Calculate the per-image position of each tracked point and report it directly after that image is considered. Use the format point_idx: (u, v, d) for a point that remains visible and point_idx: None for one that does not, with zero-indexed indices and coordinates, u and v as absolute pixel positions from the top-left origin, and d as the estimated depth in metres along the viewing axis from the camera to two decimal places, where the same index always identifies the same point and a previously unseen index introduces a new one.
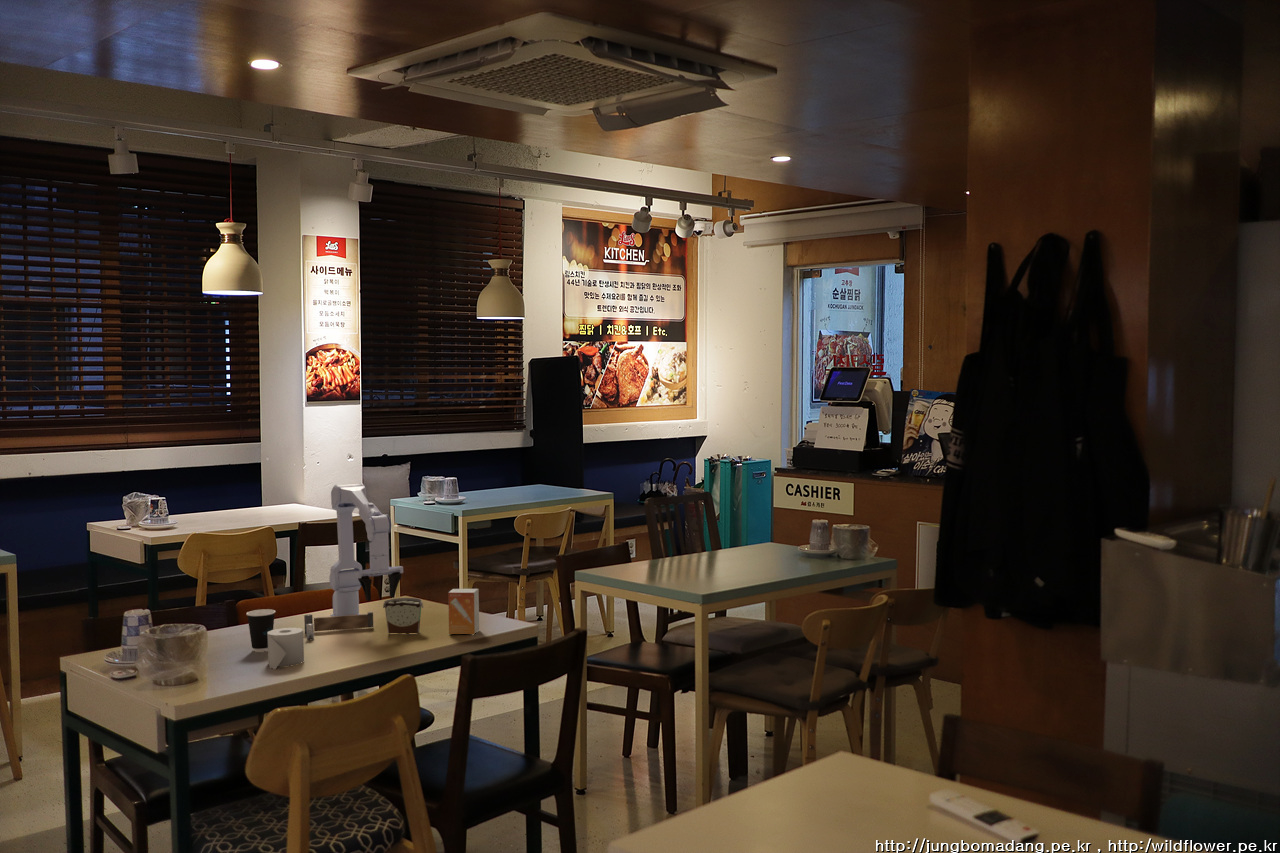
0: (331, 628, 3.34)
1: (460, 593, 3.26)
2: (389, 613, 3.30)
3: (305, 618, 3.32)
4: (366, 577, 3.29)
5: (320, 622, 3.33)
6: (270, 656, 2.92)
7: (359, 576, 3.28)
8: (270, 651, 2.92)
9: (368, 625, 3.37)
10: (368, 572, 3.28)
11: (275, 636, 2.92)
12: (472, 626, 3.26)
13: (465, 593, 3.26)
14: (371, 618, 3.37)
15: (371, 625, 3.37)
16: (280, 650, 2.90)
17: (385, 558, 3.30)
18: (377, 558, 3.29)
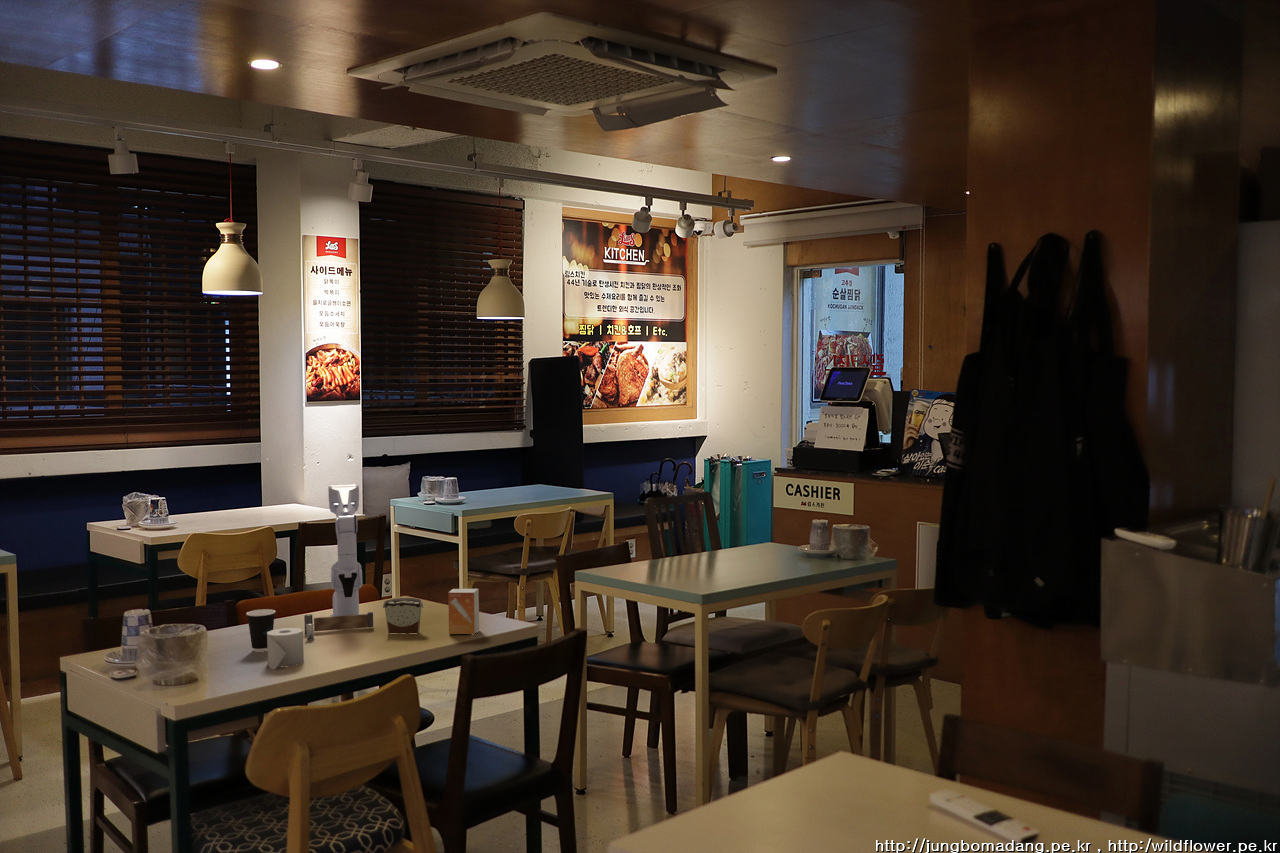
0: (331, 628, 3.34)
1: (460, 593, 3.26)
2: (389, 613, 3.30)
3: (305, 618, 3.32)
4: None
5: (320, 622, 3.33)
6: (270, 656, 2.92)
7: None
8: (270, 651, 2.92)
9: (368, 625, 3.37)
10: None
11: (275, 636, 2.92)
12: (472, 626, 3.26)
13: (465, 593, 3.26)
14: (371, 618, 3.37)
15: (371, 625, 3.37)
16: (280, 650, 2.90)
17: (338, 557, 3.39)
18: None
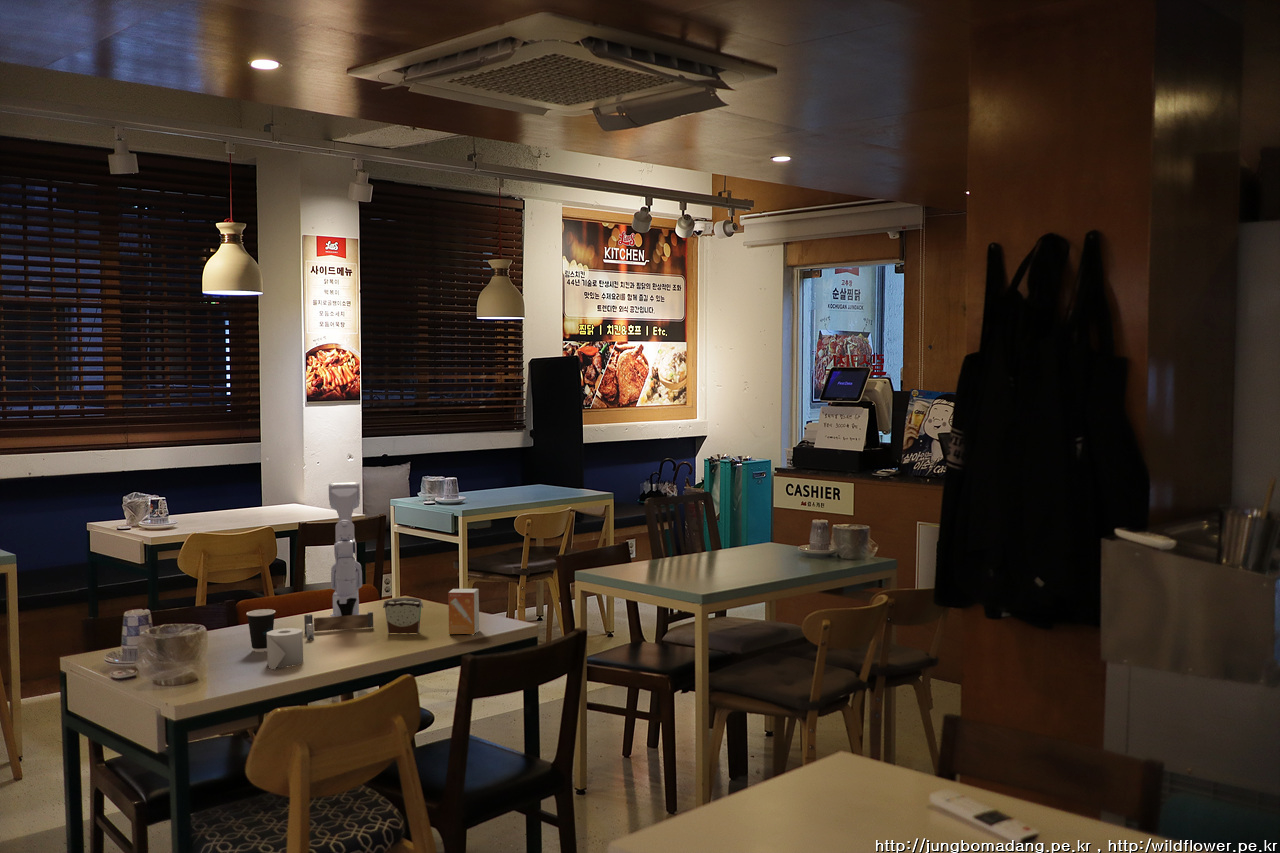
0: (331, 628, 3.34)
1: (460, 593, 3.26)
2: (389, 613, 3.30)
3: (305, 618, 3.32)
4: None
5: (320, 622, 3.33)
6: (269, 657, 2.91)
7: None
8: (269, 652, 2.91)
9: (368, 625, 3.37)
10: None
11: (274, 636, 2.92)
12: (472, 626, 3.26)
13: (465, 593, 3.26)
14: (371, 618, 3.37)
15: (371, 625, 3.37)
16: (279, 651, 2.90)
17: (336, 582, 3.37)
18: None
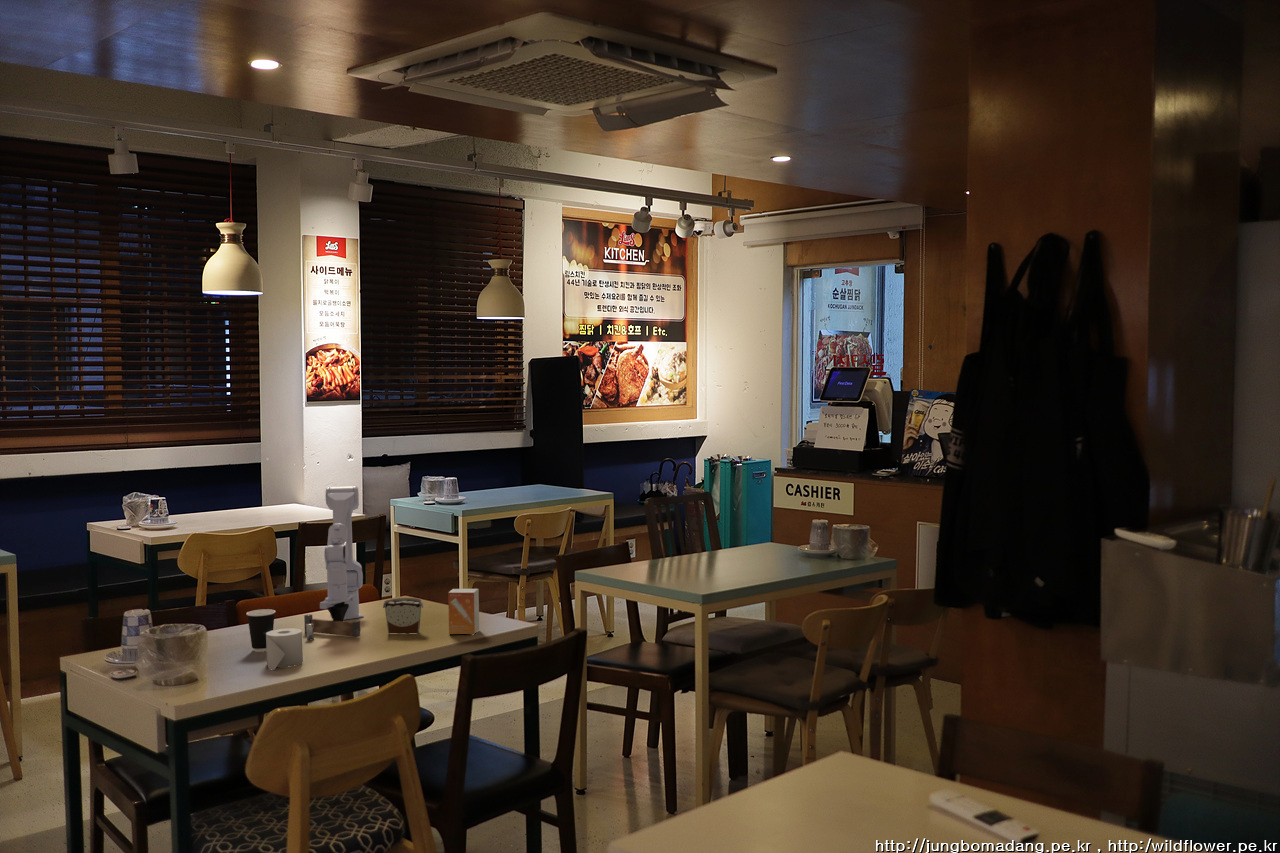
0: (324, 632, 3.29)
1: (460, 593, 3.26)
2: (389, 613, 3.30)
3: (305, 618, 3.32)
4: None
5: (315, 624, 3.31)
6: (269, 657, 2.91)
7: None
8: (269, 652, 2.91)
9: (352, 634, 3.25)
10: None
11: (274, 637, 2.91)
12: (472, 626, 3.26)
13: (465, 593, 3.26)
14: (355, 627, 3.24)
15: (355, 635, 3.24)
16: (279, 651, 2.89)
17: None
18: None
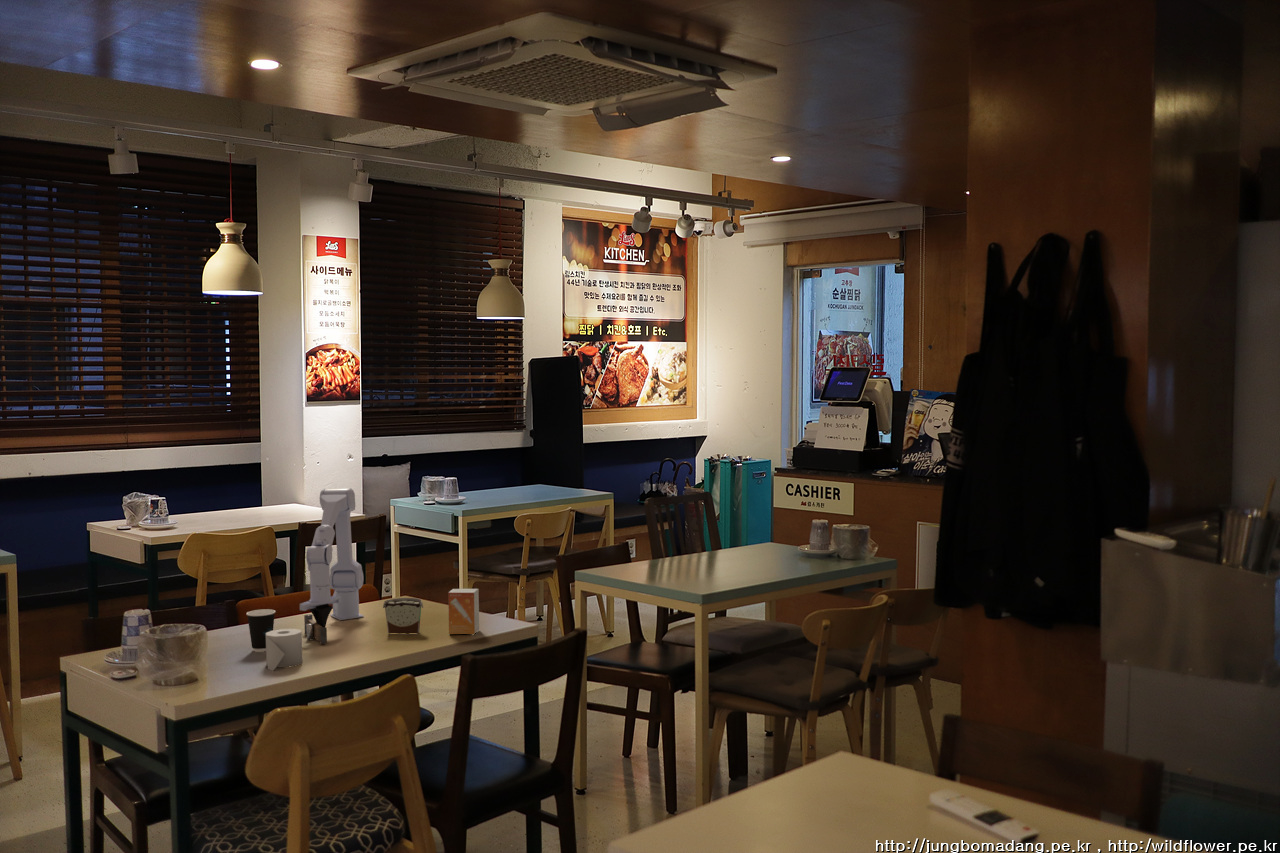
0: None
1: (460, 593, 3.26)
2: (389, 613, 3.30)
3: (305, 618, 3.32)
4: None
5: None
6: (268, 657, 2.91)
7: None
8: (268, 652, 2.91)
9: (320, 640, 3.17)
10: None
11: (273, 637, 2.91)
12: (472, 626, 3.26)
13: (465, 593, 3.26)
14: (320, 634, 3.16)
15: (320, 641, 3.16)
16: (278, 651, 2.89)
17: None
18: None
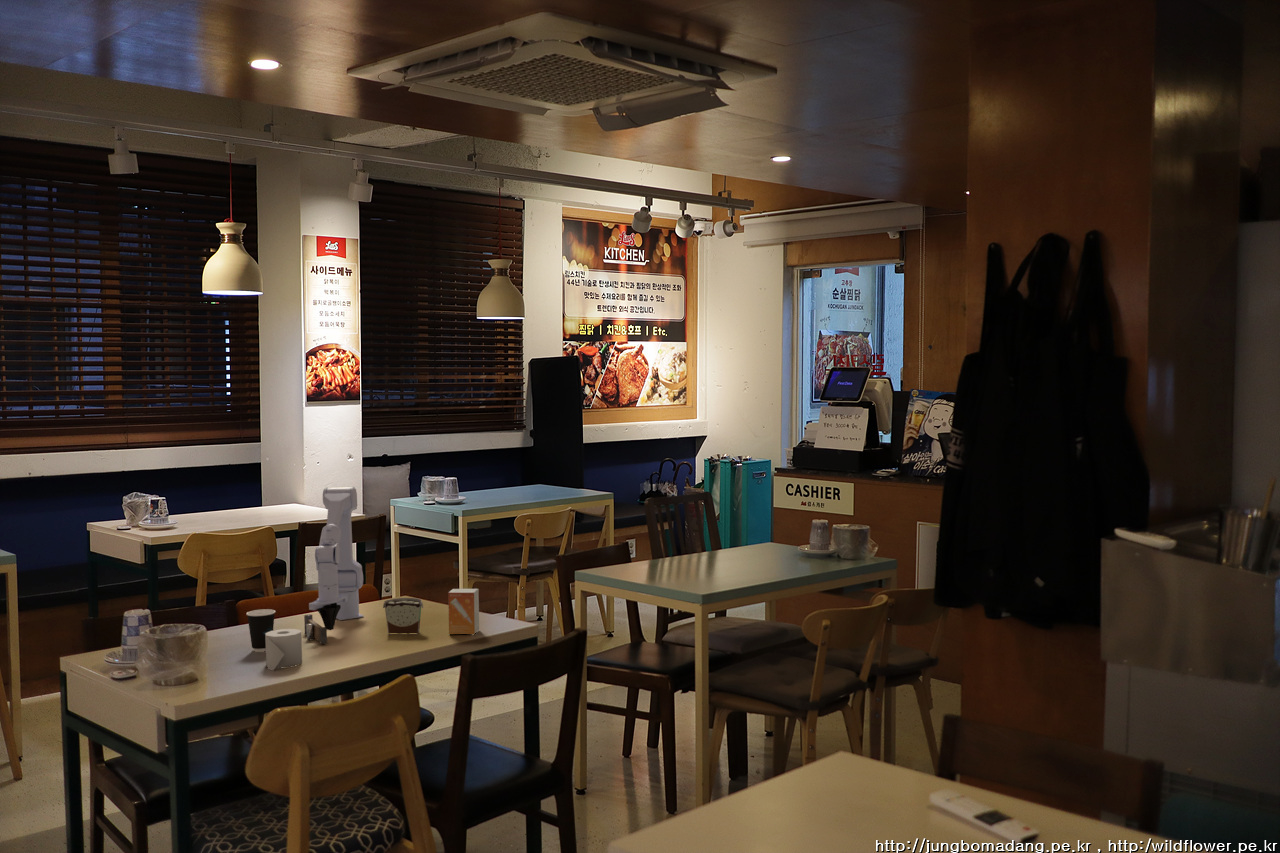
0: None
1: (460, 593, 3.26)
2: (389, 613, 3.30)
3: (305, 618, 3.32)
4: None
5: None
6: (268, 657, 2.90)
7: None
8: (268, 652, 2.91)
9: (320, 640, 3.17)
10: None
11: (273, 637, 2.91)
12: (472, 626, 3.26)
13: (465, 593, 3.26)
14: (320, 634, 3.16)
15: (320, 641, 3.16)
16: (278, 651, 2.89)
17: None
18: None
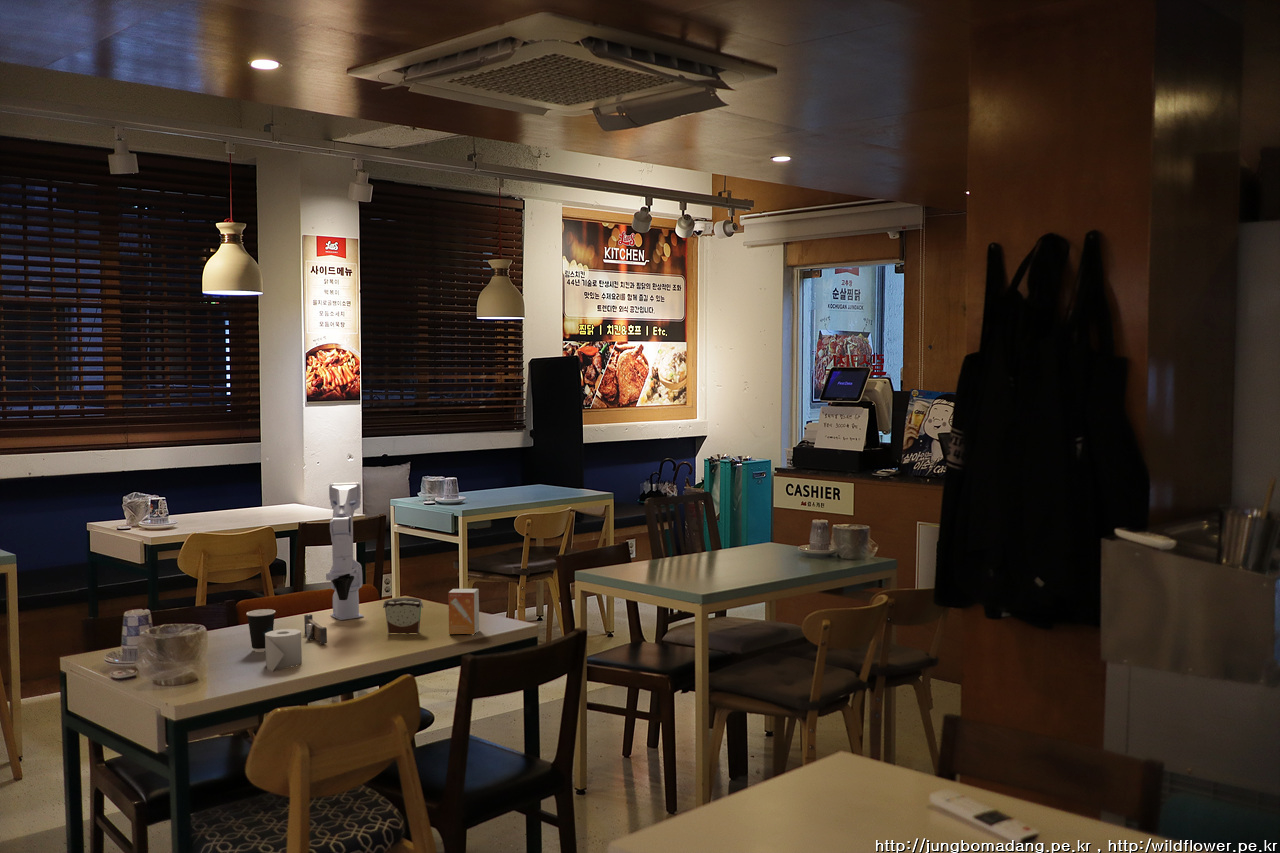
0: None
1: (460, 593, 3.26)
2: (389, 613, 3.30)
3: (305, 618, 3.32)
4: None
5: None
6: (268, 658, 2.90)
7: None
8: (268, 652, 2.90)
9: (320, 640, 3.17)
10: None
11: (273, 637, 2.91)
12: (472, 626, 3.26)
13: (465, 593, 3.26)
14: (320, 634, 3.16)
15: (320, 641, 3.16)
16: (278, 652, 2.88)
17: None
18: None
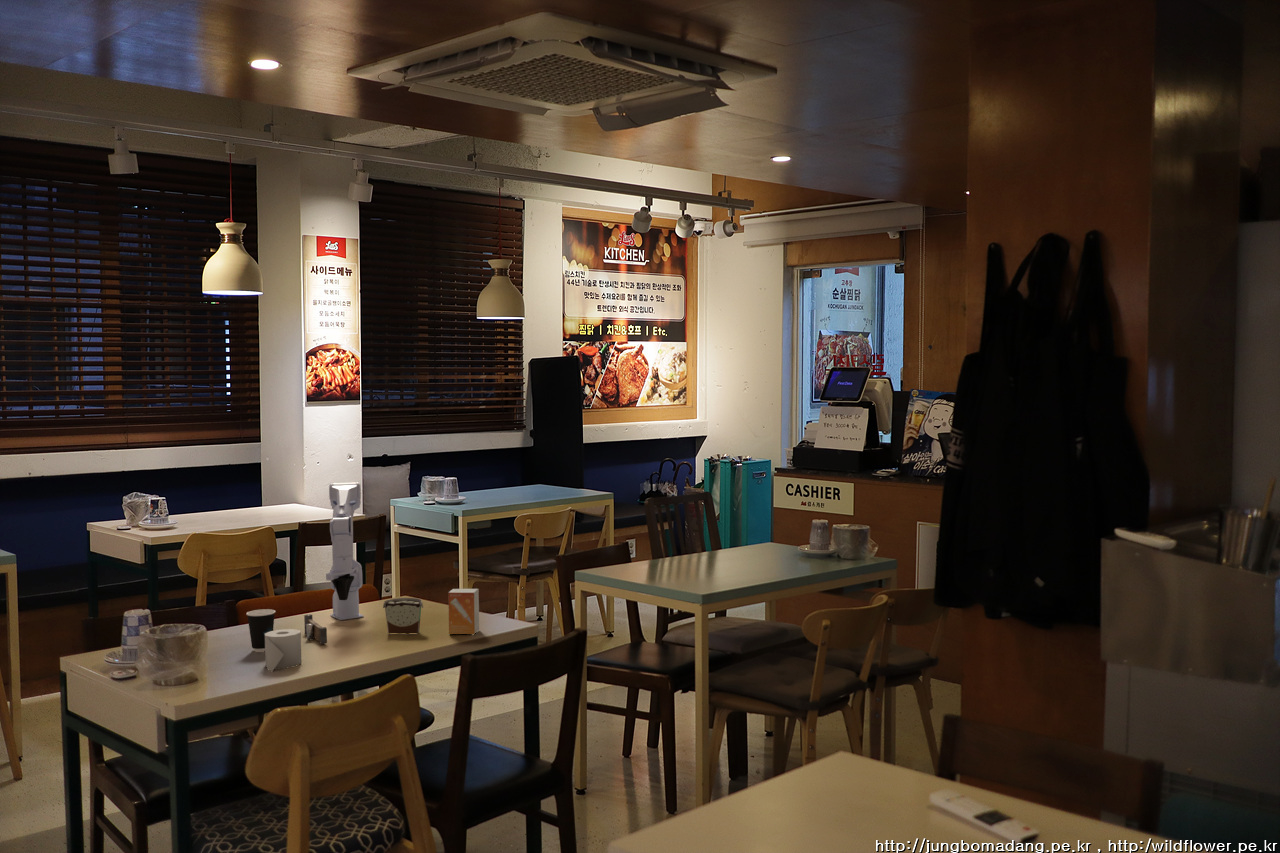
0: None
1: (460, 593, 3.26)
2: (389, 613, 3.30)
3: (305, 618, 3.32)
4: None
5: None
6: (267, 658, 2.90)
7: None
8: (267, 653, 2.90)
9: (320, 640, 3.17)
10: None
11: (272, 638, 2.90)
12: (472, 626, 3.26)
13: (465, 593, 3.26)
14: (320, 634, 3.16)
15: (320, 641, 3.16)
16: (277, 652, 2.88)
17: None
18: None
